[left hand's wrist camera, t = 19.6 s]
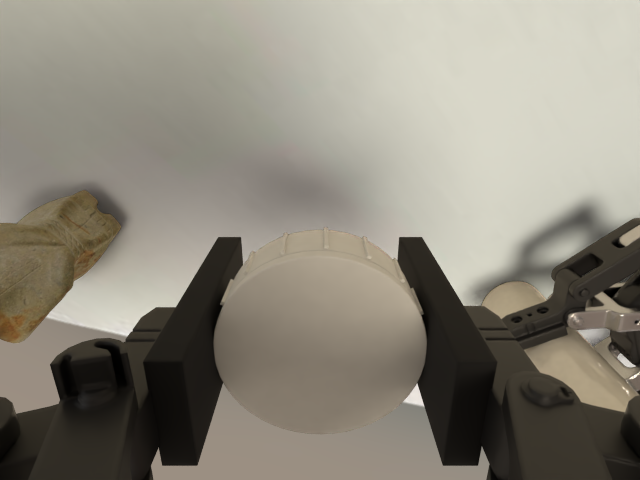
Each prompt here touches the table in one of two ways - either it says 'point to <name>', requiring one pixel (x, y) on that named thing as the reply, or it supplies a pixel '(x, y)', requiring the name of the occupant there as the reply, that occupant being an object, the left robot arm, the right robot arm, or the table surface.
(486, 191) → the table surface
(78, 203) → the sculpture
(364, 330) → the lid
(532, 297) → the beige bottle
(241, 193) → the table surface
